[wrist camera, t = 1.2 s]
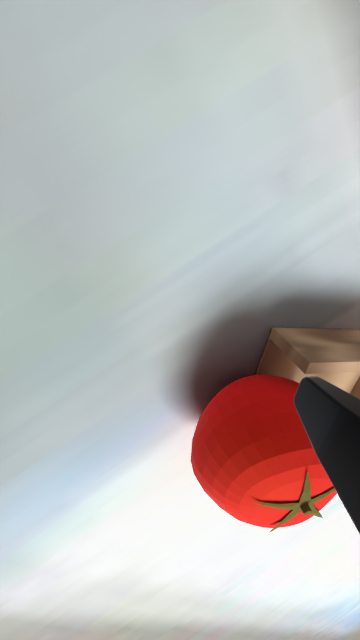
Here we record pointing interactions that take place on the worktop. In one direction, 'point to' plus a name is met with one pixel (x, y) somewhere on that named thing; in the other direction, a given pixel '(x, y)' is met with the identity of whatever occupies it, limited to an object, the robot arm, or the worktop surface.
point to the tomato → (259, 454)
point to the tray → (314, 356)
